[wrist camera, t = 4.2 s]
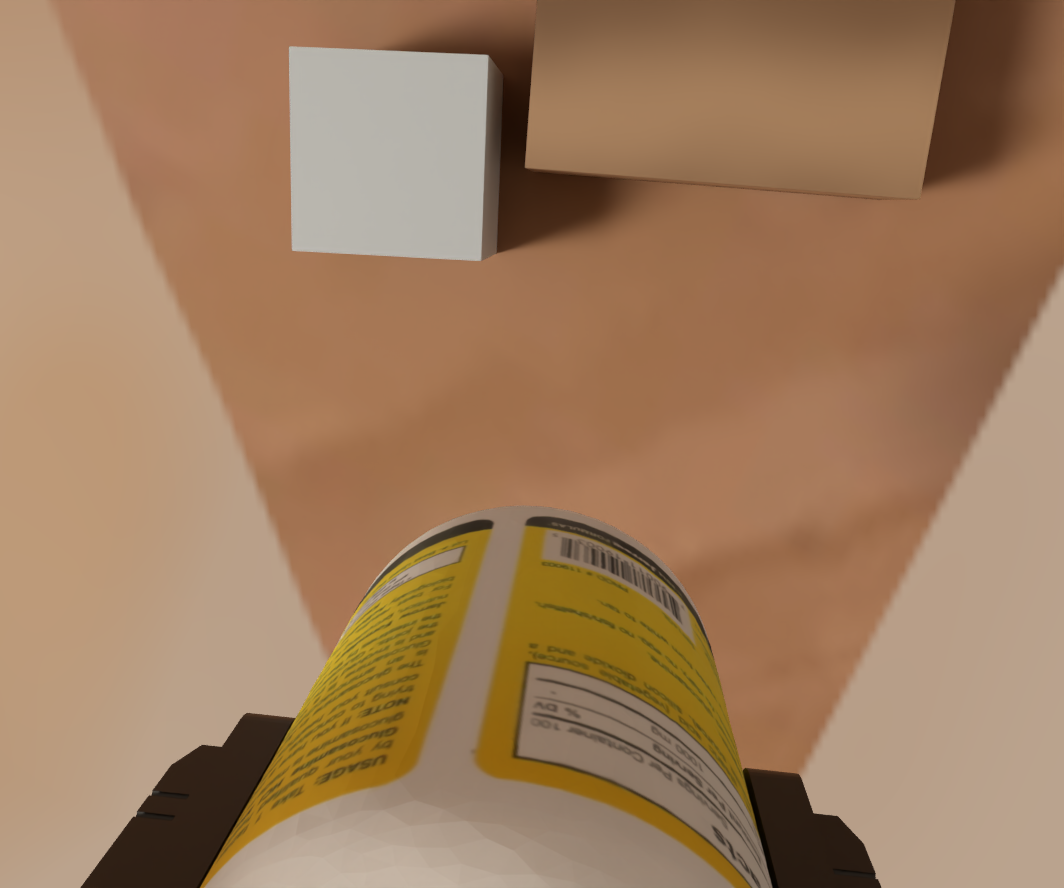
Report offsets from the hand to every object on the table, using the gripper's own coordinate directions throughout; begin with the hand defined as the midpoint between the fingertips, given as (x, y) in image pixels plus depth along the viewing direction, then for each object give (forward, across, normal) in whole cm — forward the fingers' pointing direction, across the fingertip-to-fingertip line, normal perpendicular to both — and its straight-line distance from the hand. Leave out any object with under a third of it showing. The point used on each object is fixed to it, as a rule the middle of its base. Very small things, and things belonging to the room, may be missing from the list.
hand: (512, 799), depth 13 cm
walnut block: (+17, -4, -14) cm, 22 cm away
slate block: (+17, +5, -9) cm, 20 cm away
